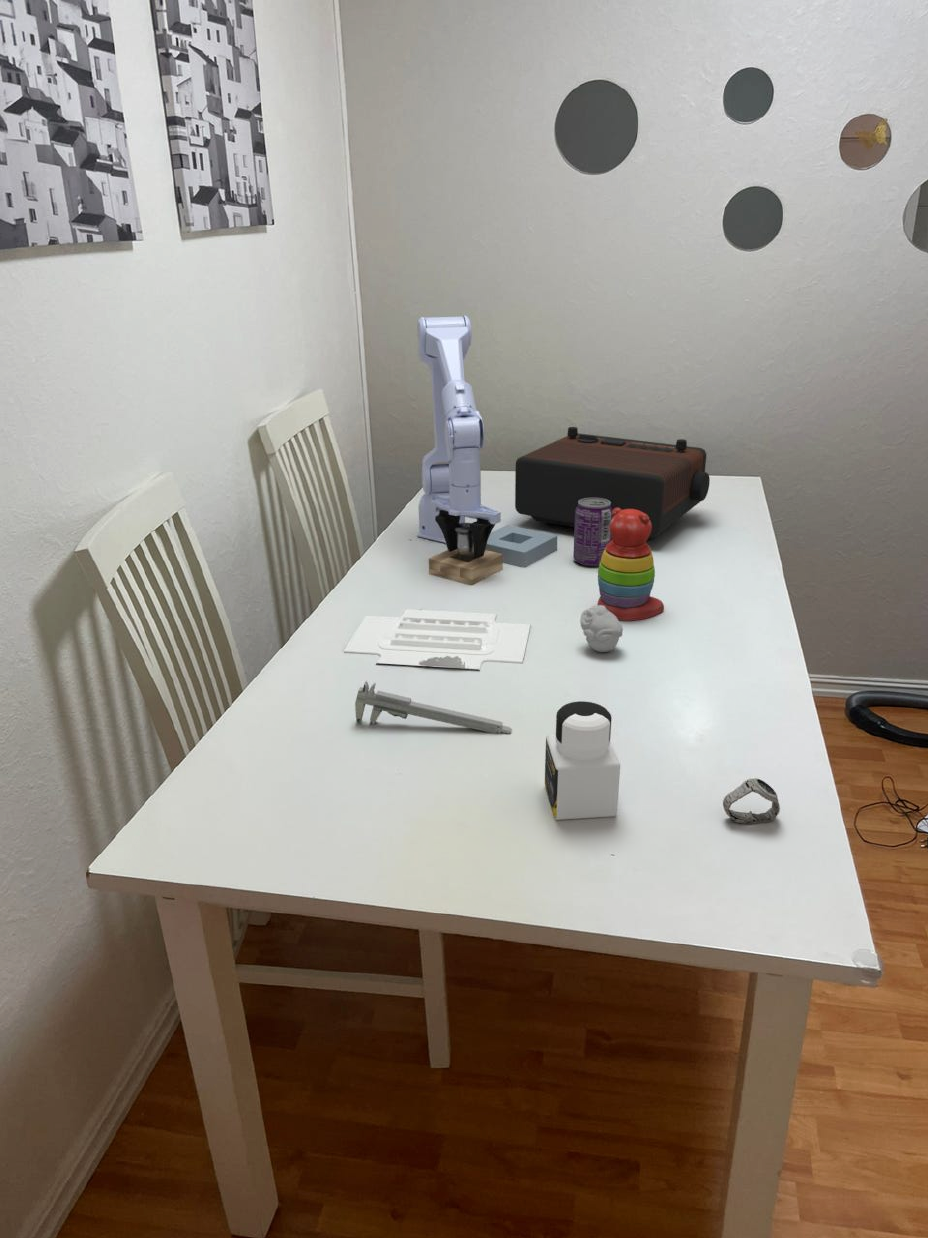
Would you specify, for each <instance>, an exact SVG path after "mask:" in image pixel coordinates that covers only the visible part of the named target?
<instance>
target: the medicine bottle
mask: <svg viewBox="0 0 928 1238" xmlns="http://www.w3.org/2000/svg"><path fill="white" fill-rule="evenodd" d="M555 719H556V720H555V733H547V734H546V737H545V755H544V756H545V757H544V759H545V760H544V761H545V762H544V763H545V765H544V787H545V790H546V793H547V797H548V800H549V803H550V806H551V807H550V808H551V811H552V814H553V817H554V818H553V819H554V820H557V821H563V820H564V821H565V820H577V819H578V820H580V819H595V818H596V819H597V818H610V817H617V815H618V804H619V790H620V776H621V775H620V774H621V762H620V761H619V758H618V755H617V753H616V751H615V749H614V747H613V744H612V742H611V734H612V733H611V732H612V731H611V730H612V720H613V719H612V714H611V712H610V711H608V709H607V708H605V707H604V706H603V705H600V704H598V703H596V702H592V701H585V700H584V701H583V700H582V701H581V700H580V701H572V702H568V703H566V704H564V705H563V706H561V707H560V708H559V709H558V710H557V712H556V718H555Z"/></svg>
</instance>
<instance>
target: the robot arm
mask: <svg viewBox="0 0 928 1238" xmlns="http://www.w3.org/2000/svg"><path fill="white" fill-rule="evenodd" d="M416 327H417V328H416V329H417V330H416V333H417V335H416V336H417V351H418V352H417V353H418V356H419V361H421V362H423V363H425V364H428V368H429V371H430V376H431V378H430V379H431V395H432V413H433V415H432V416H433V434H434V448H432V449H431V450H430V451H429V452H428V453H427V454H425V455H423V459H422V461H421V462H422V463H421V465H422V469H421V481H422V483H421V484H422V490H423V495H422V496H421V497H420V499H419V502H418V530H419V532H418V533H417V534H416V536H417V537H419V538H424V539H428V540H432V541H435V542H440V543H444V544H446V548H447V550H448V551H449V552H452V551H454V550H456V549H457V532H455V525H456V524H459V523H466V518H469V519H474V520H476V521H472V522H470V523H471V524H470V528H471V532H472V536H473V542H474V556H475V558H480V557H482V556H484V552H485V548H486V544H487V541H488V538H489V536H490V533H491V532H493V529H494V528H495V526H496V524H499V523H501V521H502V519H501V517H502V513H501V511H499V510H495V509H492V508H490V507H488V506H485V505H483V504H482V501H481V500H482V499H481V498H482V497H481V496H482V494H481V493H482V492H481V491H482V490H481V489H482V488H481V484H482V482H481V478H482V477H481V474H482V473H481V468H482V467H481V466H482V465H481V453H482V452H481V449H483V447H484V444H485V427H484V421H483V417H482V415H481V414H480V411H479V410H477V408H476V407H477V406H476V402H475V395H474V391H473V386H472V385H471V384H469V382H466V380H465V370H464V369H465V368H464V360H465V359H466V356H467V355H468V352H469V349H470V347H471V345H472V324H471V320H470V318H469V317H468V316H467V315H462V316H447V317H446V316H443V317H441V316H440V317H439V316H437V317H425V316H421V317H420V318H419V319H418V320H417V324H416ZM436 463H437V464H436ZM439 463H441V464H439Z"/></svg>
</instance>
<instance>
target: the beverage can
mask: <svg viewBox="0 0 928 1238" xmlns="http://www.w3.org/2000/svg"><path fill="white" fill-rule="evenodd" d="M610 505H611V502H610V501H609V500H607V499H603V498H584V499H581V500H579V501H578V506H577V508H576V510H575V527H574V532H573V533H574V534H573V536H574V537H573V553H572V554H573V560H574V561H575V562H577V563H579V564H580V565H583V566H586V567H599V564H600V562H601V558H602V554H603V552H604V550H605V548H606V546H607V544H608V543H609V542H610V541H612V537H611V534H610V522H611V520H612V518H613V516H612V508H611V506H610Z"/></svg>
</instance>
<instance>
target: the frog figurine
mask: <svg viewBox="0 0 928 1238" xmlns="http://www.w3.org/2000/svg"><path fill="white" fill-rule="evenodd" d="M597 605H598V604H597ZM597 605H596V606H592V607H590V608H587V609H585V610H583V611H582V612H581V614H580V619H579V620H580V621H579V623H580V627H581V630H582V632H583V635H584V636H585V637H586V638H585V640H586V642H587V644H588V646H589V647H590V648H591V649H592V650H594V651H596V652H599V653H606V652H610V651H612V650H613V649H614V648H616V646H617V645H618V643H619V640H620V638H622V636H623V630H624V628H623V625H622V623H621V622H620V620H618V619H617V617H616V616H615V615H614V614H612V613H611V612H609V611H608V610H607V609H606V607H605V606H603V605H598V606H597Z"/></svg>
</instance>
